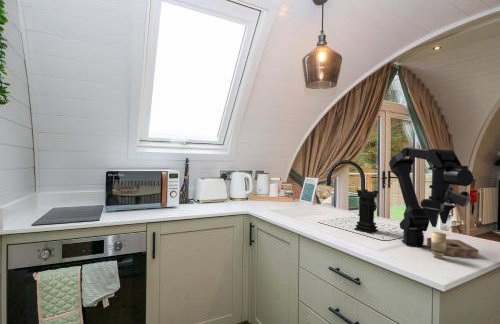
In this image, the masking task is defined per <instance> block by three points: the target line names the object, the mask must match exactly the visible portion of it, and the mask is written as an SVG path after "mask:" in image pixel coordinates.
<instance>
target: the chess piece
mask: <svg viewBox="0 0 500 324" xmlns="http://www.w3.org/2000/svg"><path fill="white" fill-rule="evenodd" d="M356 193H357V197H359V201H358V204H359V217H358V219H359V221H356V224H355V227H354V229H353V230H354V231H357V232H358V231H359V232H361V233H365V232H366V233H365V234H368V233H370V234H373V232H374V233H377V232H379V229H378V225H377V222H375V204H376V202H375V199H376V198H377V197H378V194H379V190H373V191H370V190H368V189H365V188H364V189H362V190H361V189H357V190H356ZM376 231H377V232H376Z"/></svg>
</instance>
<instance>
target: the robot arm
mask: <svg viewBox="0 0 500 324" xmlns="http://www.w3.org/2000/svg"><path fill="white" fill-rule="evenodd" d="M415 158H416V159H421V160H426V162H428V163H430V164H432V165H431V166H429V167H428V168H427V169H428V170H430V171H431V184H429V187H428V188H429V189H431V192H430V195H429V196H428V197H427V198H423V199H422V200H421V201H420V204H419V200H418V197H417V193H416V190H415V188H414V184H413V180H412V178H411V172H412V169H413V165H414V164H415V161H416V160H415ZM388 165H389V168H390V170H391V173H392V174H393V175H395V176H396V177H397V180H398V184H399V186H400V188H399V189H400V191H401V194H402V199H403V202H404V206H405V210H404V212H403V219H401V221H400V222H399V228H400V229H401V230H403V238H402V240H401V242H402V243H403V244H404V245H406V246H408V247H419V248H425V245H424V240H425V236H424V234H423V233H424V232H427V231H428V228H429V224H431V226H432V228H436V227H437V225H438V222H439V221H438V220H439V217H440V220H441V223H442V224H445V225H446V224H447V222H448V219H449V216H450V213H451V211H452V210H454V209H455V208H457V207H458V206H460V207H463V208H465V207H468V205H469V203H470V202H471V200H472V197H471V196H470V192H469V191H465V190H464V191H461V192H459V191H456V190H454V186H458V187H459V186H461V187H468V186H470V185H471V184H472V183H473V181H474V175H473V172H472V171H471V170H470V169H469V167H468V165H462V163H461V161H460V160H459V158H458V156H457V154H456V153H455V150H453V149H452V148H431V149H425V148H417V147H412V146H411V147H407V146H406V147H403V148H402V149H401V151H399V152H398V153H396V154H394V155H393V156H392V157H391V159H390V160H389V162H388ZM453 185H454V186H453Z"/></svg>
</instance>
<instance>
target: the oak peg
mask: <svg viewBox="0 0 500 324" xmlns="http://www.w3.org/2000/svg"><path fill="white" fill-rule="evenodd" d="M430 238H431V247H430V250H431V251H432V254H433V256H432V257H433V258H435V259H437V260H443V257H444V256H445V255H444V253H445V252H446V239H447V233H444V232H440V231H431V237H430Z"/></svg>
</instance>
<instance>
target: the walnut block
mask: <svg viewBox="0 0 500 324" xmlns="http://www.w3.org/2000/svg"><path fill="white" fill-rule="evenodd" d="M426 246H428V247H430V248H431V237H426ZM444 256H448V257H450V256H451V257H463V258H475V259H478V258H479V249H478V248H476V247H474V246H471V245H470V244H468V243H466V242H464V241H462V240H460V239H455V238H454V239H451V238H450V239H449V238H446V252H445V253H444Z"/></svg>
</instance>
